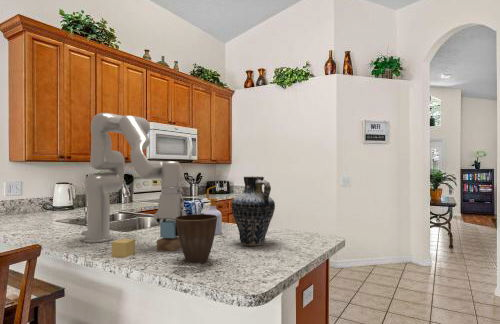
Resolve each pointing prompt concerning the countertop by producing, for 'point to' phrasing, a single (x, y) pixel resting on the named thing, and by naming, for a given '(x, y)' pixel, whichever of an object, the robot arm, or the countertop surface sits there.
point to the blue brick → (168, 229)
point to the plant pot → (196, 236)
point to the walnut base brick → (168, 244)
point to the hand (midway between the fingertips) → (170, 234)
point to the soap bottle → (215, 213)
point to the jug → (253, 211)
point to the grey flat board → (162, 251)
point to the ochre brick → (123, 247)
